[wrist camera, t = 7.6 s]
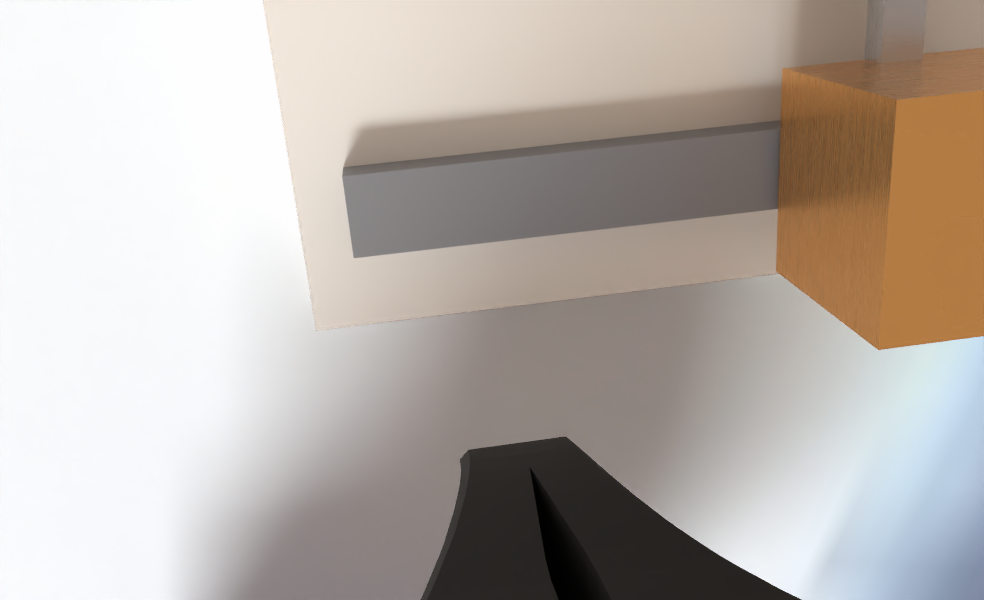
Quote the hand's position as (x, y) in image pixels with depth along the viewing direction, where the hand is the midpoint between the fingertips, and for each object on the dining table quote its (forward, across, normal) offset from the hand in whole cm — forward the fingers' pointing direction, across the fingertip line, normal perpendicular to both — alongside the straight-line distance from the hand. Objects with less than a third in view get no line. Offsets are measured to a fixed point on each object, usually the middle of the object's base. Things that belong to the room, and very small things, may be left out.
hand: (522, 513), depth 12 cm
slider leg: (+8, -8, -3) cm, 12 cm away
